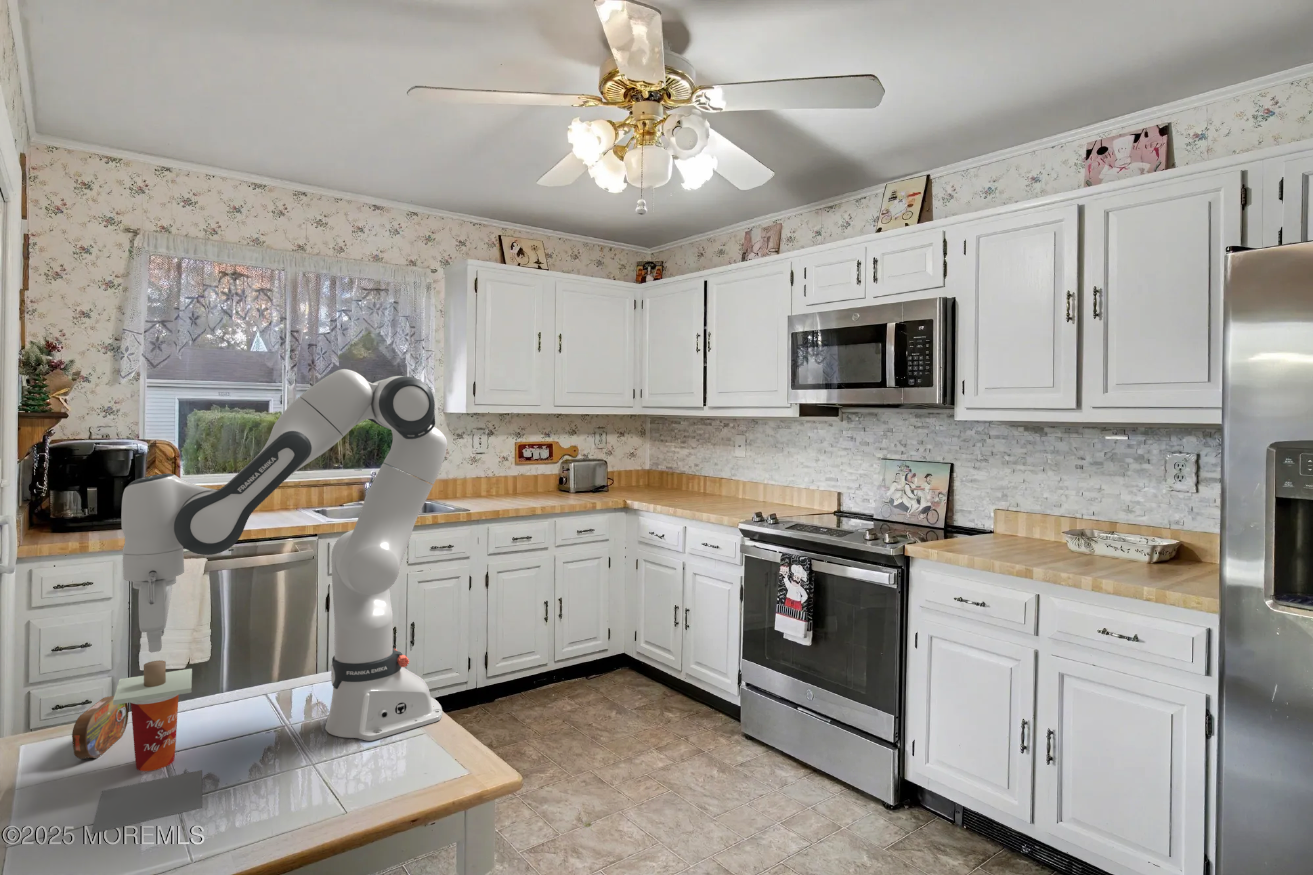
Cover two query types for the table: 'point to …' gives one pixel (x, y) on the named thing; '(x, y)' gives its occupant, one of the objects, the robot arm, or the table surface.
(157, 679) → the lid
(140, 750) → the paper cup
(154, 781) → the mat
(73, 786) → the table surface
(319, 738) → the table surface
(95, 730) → the tin
